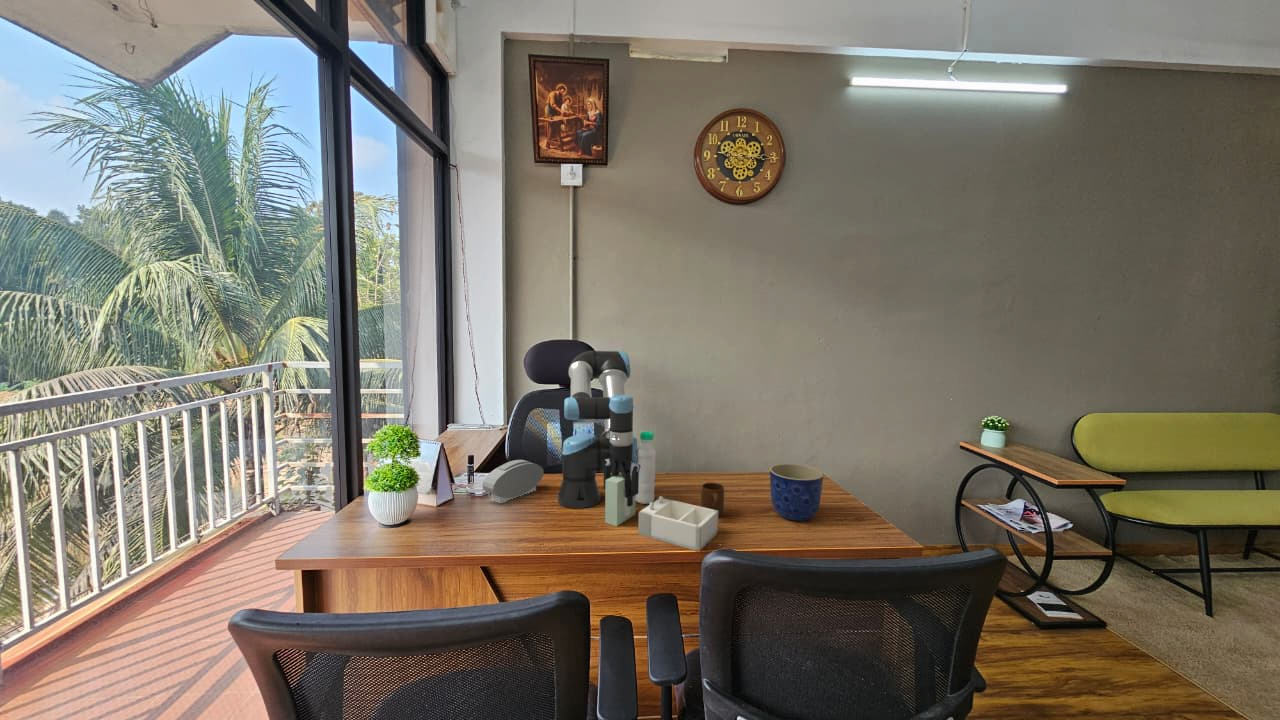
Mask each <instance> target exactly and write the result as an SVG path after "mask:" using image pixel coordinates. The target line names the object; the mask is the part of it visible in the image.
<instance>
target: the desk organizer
mask: <svg viewBox="0 0 1280 720" xmlns="http://www.w3.org/2000/svg"><path fill="white" fill-rule="evenodd" d="M663 496H664V495H663ZM663 496H662V495H660V496H658V498H657V499H656V500H655V501H653V502H650V503H649V505H647V506H646V507H644V508H643V509H641V510H640V511H638V523H637V525H638V528H637V531H638V535H639V536H642V537H646V538H649V539H652V540H656V541H660V542H663V543H666V542H667V543H666V544H671V545H673V546H678V547H682V548H685V549H689V550H691V551H695V550H699V551H700V550H701V548H702V547H703V548H705V546H706V545H707V544H709V543H710V542H711V540H712V539H713V538H715V536H716V535H718V533H719V517H718V510H713V509H709V508H704V507H701V505H694V504H691V503H687V502H681V501H679V500H675V499H674V500H672V499H670V498H665V497H663ZM703 548H702V549H703ZM699 551H698V552H699ZM700 552H701V551H700Z"/></svg>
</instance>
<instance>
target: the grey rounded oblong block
mask: <svg viewBox="0 0 1280 720" xmlns="http://www.w3.org/2000/svg"><path fill="white" fill-rule="evenodd" d="M544 472H545V471H544V468H543V467H542V466H541V465H539V464H537V463H533V462H530V461H528V460H524V459H515V460H510V461H508V462H505V463H503V464H502V465H499V466H498V467H496V468H495V469H493V470H492V471H490V472H489V473H488V474H487V475H486V476H485V477H484V478H483V479H484V480H483V481H482V489H483V490H484V491H485V492H486V493H488V494H491V495H492V496H491V501H492V500H493V501H496V502H499V503H501V502H504V501H507V500H510V499H512V500H514V499H513V498H515V499H517V498H516V497H518V496H520V497H523V496H525V495H524V494H526V495H528V494H530V492H531V493H533V491H534V492H536V491H537V485H538V484H539V483H540V482H541V481H542V479H543V477H544ZM527 493H528V494H527ZM522 495H523V496H522ZM518 498H519V497H518ZM493 501H492V502H493ZM510 501H511V500H510ZM507 502H508V501H507ZM504 503H505V502H504Z"/></svg>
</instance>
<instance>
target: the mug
mask: <svg viewBox="0 0 1280 720" xmlns="http://www.w3.org/2000/svg"><path fill="white" fill-rule="evenodd" d="M700 490H701V492H700V494H701V495H700V507H704V508H709V509H713V510H718V518H719V517H722V516H723V515H724V508H725V506H724V504H725V487H724V485H723V484H720V483H717V482H705V483H702V485H701V489H700Z"/></svg>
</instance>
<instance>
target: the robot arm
mask: <svg viewBox="0 0 1280 720" xmlns="http://www.w3.org/2000/svg"><path fill="white" fill-rule="evenodd" d="M630 364H631V363H630V358H629V356H628V353H627V352H625V351H624V350H622V351H621V350H609V351H608V350H588V351H587V350H586V351H584V352H582V353H580V354H578V355H577V356H575V357H574V359H572V361H571V362H570V364H569V366H568V376H569V379H570V396H569V397H566V398H565V399H564V401H563V402H564V406H563V407H564V409H563V411H564V412H563V413H564V419H566V420H568V421H569V420H570V421H571V420H573V421H581V420H583V421H584V420H585V421H587V420H604V431H603V432H602V433H601V435H600V438H597V437H596V435H595V434H593V433H581V434H576V435H572V436H569V437H567V438H566V439H565V440H564V441H563V444H562V452H561V453H562V482H561V484H560V487H559V491H558V494H557V502H558V504H559V505H560V506H563V507H565V508H569V509H570V508H571V509H585V508H591V507H593V506H596V505H597V504H599V503H600V502H601V492H600V489H599V486H598V482H597V480H596V479H597V478H596V473H600V472H601V473H603V490H604V491H605V480H607V479H609V478H611V477H613V476H614V477H615V476H617V475H619V473H621V474H622V476H623V479H625V490H626V496H625V497H624V516H625V517H627V516H628V515H630V514H631V506H632V504H633V496H635V495H637V494H638V485H639V470H640V465H636V458H637V455H636V454H637V449H638V438H636V437H634V431H633V430H634V398H633V396H631V395H628V394H626V392H625V384H626V382H627V381H628V379H630V377H631V367H630V366H631V365H630ZM592 379H593V380H595V379H596V380H598V382H599V384H600V385H601V386H602V395H603V396H599V397H597V396H596V397H595V396H594V397H593V395H592V382H591V381H592ZM631 472H632V479H631V477H630V473H631Z"/></svg>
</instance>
